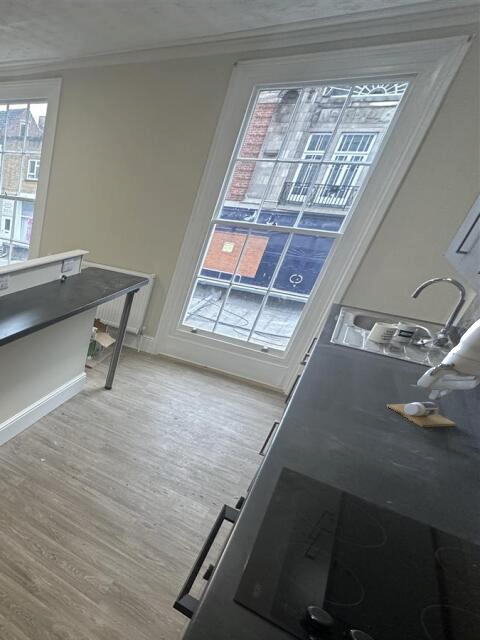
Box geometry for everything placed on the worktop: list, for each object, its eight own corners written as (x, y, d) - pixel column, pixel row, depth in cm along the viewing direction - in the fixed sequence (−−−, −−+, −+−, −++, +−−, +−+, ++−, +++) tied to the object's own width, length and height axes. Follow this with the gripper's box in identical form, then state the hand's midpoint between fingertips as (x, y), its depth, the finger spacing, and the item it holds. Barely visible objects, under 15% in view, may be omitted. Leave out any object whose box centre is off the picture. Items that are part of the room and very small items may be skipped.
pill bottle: (420, 402, 142) (401, 402, 141) (437, 401, 137) (418, 401, 136) (422, 415, 141) (403, 416, 140) (440, 415, 137) (420, 415, 135)
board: (454, 425, 137) (456, 423, 137) (421, 427, 135) (423, 424, 134) (416, 405, 147) (418, 403, 147) (385, 406, 145) (387, 404, 144)
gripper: (449, 368, 126) (420, 404, 133) (499, 368, 129) (467, 403, 137) (427, 359, 131) (400, 394, 138) (475, 359, 134) (446, 393, 142)
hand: (434, 398), depth 137 cm, fingers closed
